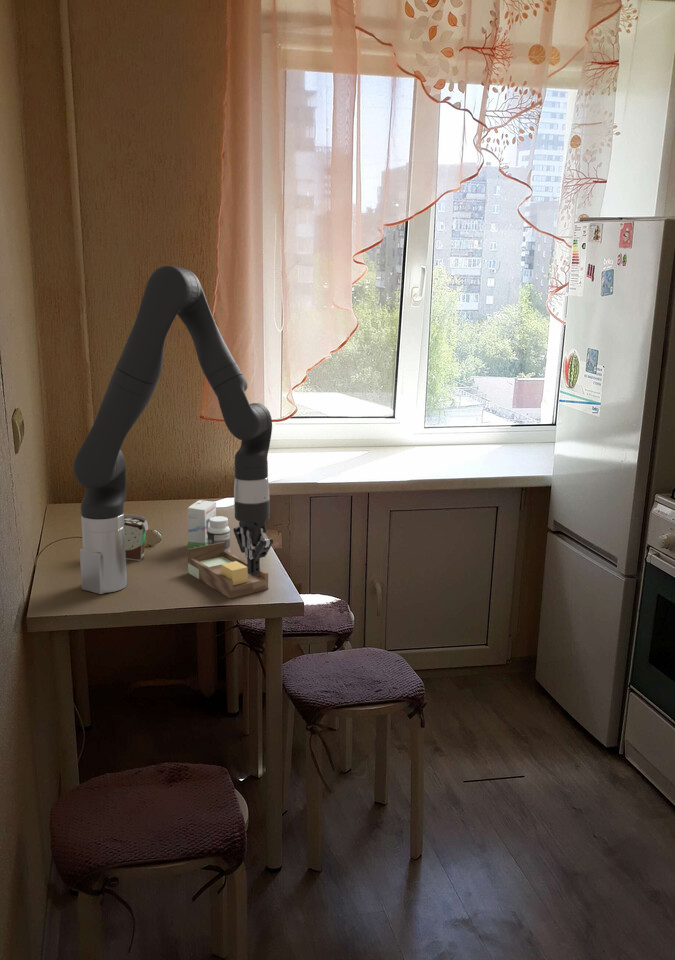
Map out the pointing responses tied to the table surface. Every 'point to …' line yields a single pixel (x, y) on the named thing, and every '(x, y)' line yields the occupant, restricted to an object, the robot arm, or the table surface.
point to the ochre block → (235, 572)
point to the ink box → (199, 522)
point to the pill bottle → (219, 531)
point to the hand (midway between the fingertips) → (253, 573)
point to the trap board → (215, 577)
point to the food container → (135, 536)
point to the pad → (209, 563)
